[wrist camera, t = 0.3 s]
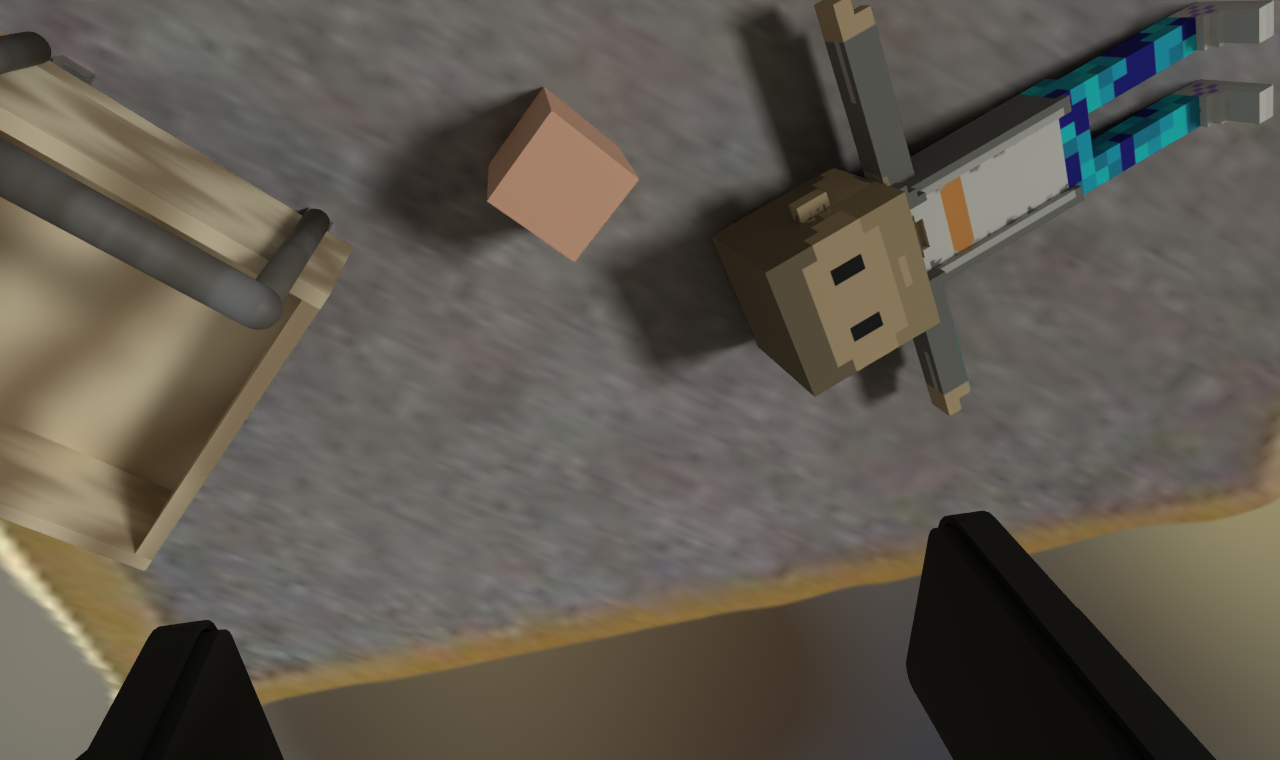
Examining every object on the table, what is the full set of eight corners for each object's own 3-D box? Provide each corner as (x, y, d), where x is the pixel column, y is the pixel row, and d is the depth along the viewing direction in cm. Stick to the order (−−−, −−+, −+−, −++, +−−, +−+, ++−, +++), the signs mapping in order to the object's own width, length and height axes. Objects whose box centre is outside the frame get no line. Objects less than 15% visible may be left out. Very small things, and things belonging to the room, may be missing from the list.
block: (488, 164, 40) (486, 201, 34) (543, 86, 39) (551, 110, 33) (563, 218, 43) (574, 262, 36) (618, 146, 41) (639, 179, 35)
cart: (-111, 324, 38) (-416, 510, 25) (40, -10, 33) (-255, 14, 20) (206, 464, 45) (90, 666, 32) (376, 207, 39) (317, 329, 27)
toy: (1271, 265, 47) (863, 512, 46) (1161, 235, 54) (802, 449, 52) (1275, -226, 34) (699, 100, 32) (1128, -186, 40) (646, 86, 39)
